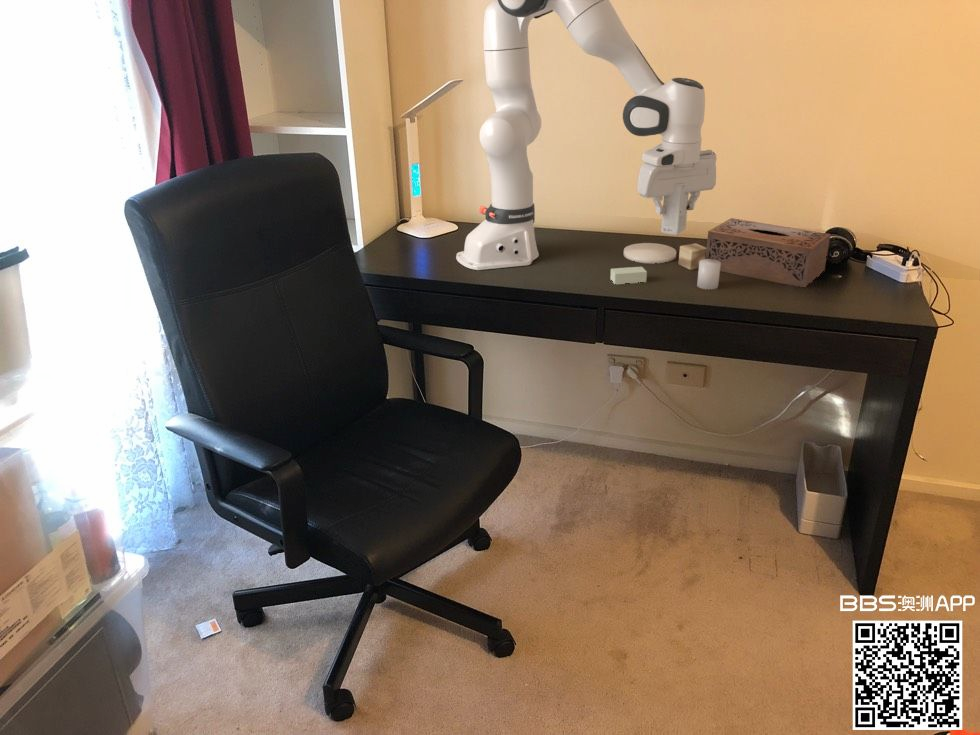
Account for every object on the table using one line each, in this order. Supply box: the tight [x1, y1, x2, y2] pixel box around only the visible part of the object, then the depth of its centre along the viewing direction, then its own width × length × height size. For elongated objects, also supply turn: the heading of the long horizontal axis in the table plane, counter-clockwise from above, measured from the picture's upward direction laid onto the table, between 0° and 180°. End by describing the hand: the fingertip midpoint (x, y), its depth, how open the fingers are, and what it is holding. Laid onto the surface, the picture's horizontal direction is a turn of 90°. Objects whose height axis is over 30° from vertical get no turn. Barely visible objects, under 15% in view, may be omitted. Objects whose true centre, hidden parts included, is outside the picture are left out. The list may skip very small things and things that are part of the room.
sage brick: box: [610, 266, 648, 285], centre depth 199 cm, size 8×4×3 cm, turn 98°
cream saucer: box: [623, 242, 677, 265], centre depth 217 cm, size 14×14×1 cm
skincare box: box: [660, 183, 690, 236], centre depth 191 cm, size 6×4×12 cm
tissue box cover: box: [705, 217, 831, 288], centre depth 203 cm, size 26×14×10 cm, turn 52°
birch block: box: [678, 242, 707, 270], centre depth 208 cm, size 5×5×5 cm
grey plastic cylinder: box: [696, 259, 721, 291], centre depth 194 cm, size 5×5×6 cm
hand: (674, 211), depth 191 cm, fingers closed on skincare box, 7 cm apart
